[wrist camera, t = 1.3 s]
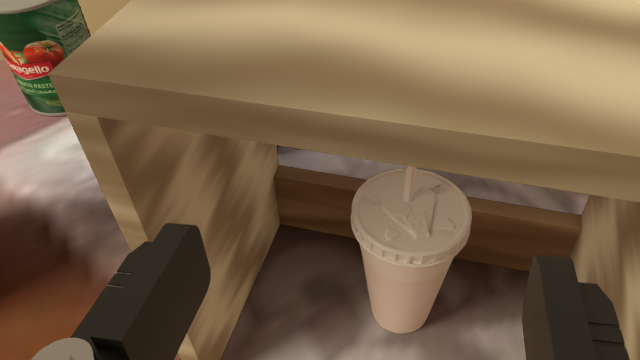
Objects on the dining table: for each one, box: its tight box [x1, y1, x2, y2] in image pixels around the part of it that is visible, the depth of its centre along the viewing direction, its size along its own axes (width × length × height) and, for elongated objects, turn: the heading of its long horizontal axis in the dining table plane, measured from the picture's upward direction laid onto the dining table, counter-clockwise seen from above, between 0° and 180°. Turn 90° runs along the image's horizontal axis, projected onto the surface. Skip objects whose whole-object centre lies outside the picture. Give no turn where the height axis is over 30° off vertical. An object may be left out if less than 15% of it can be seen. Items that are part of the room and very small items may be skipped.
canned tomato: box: [0, 0, 91, 116], centre depth 51 cm, size 8×8×11 cm
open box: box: [48, 0, 640, 360], centre depth 27 cm, size 14×22×22 cm, turn 74°
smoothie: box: [350, 166, 472, 334], centre depth 30 cm, size 6×6×14 cm
